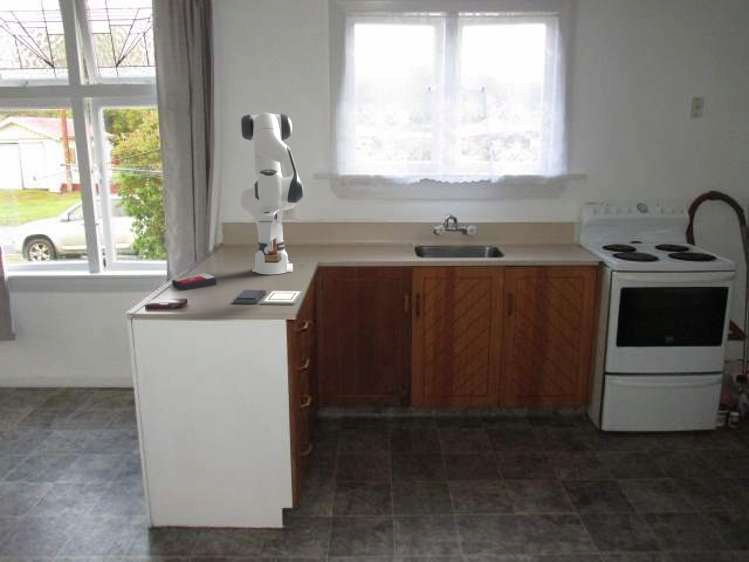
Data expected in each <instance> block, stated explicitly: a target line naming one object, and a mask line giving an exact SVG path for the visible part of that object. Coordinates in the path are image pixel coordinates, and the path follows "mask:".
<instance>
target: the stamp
mask: <svg viewBox="0 0 749 562" xmlns="http://www.w3.org/2000/svg"><path fill="white" fill-rule="evenodd" d="M273 246H274V250H273V251H268V252H269V253H267V254H266V255H265V256H264V257H265V263H278V262H279V261H281V253H277V241H276V238H275V239H273Z"/></svg>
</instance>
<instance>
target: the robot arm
mask: <svg viewBox="0 0 749 562" xmlns="http://www.w3.org/2000/svg"><path fill="white" fill-rule="evenodd" d="M292 122H293V121H292V120H291V118H290V116H289V115H287V114H284V113H283V114H282V113H280V114H278V113H277V114H276V113H271V112H266V111H265V112H260V113H258V114H245V115H243V116H242V117H241V120H240V121H239V126H238V127H239V132H240V135H241V136H242V138H243V139H245V140H248V141H253V147H254V148H253V149H254V153H253V154H254V155H253V156H254V170H255V171H254V173H255V174H256V175H257V177H258V178H257V180H256V182H255V183H254V184H253V185H254V187H252V188H247V189H244V190H243V191H242V192H241V194H240V198H239V200H240V201H239V203H240V205H241V207H242V209H243V210H244V211H245V212H246V213H248V214H249V215H251V217H252V218H253V219H254V221H255V224H256V226H257V236H258V241H257V249H258V251H257V252H256V253H255V255H254V258H255V259H254V260H255V261H254V262H255V263H254V264H255V265H254V266H255V267H254V268H252V270H251V271H252V273H253V272H254V273H257V274H260V275H280V274H285V273H292V272H293V269H294V268H293V267H294V266H293V265H294V264H293V263H292V262H291V263H290V260H289V258H288V257H289V256H288V253H287V251H286V249H285V248H286V247H285V240H284V233H283V223H282V219H283V218H284V212H283V211H286V210H291V209H293V208H294V207H296V205H297V203H298V202H299V201H301V199H302V198H303V197H304V185H303V183H302V181H301V178H300V176H299V172H298V168H297V165H296V162H295V159H294V155H293V153H292V150H291V148H290V146H289V145H287V144H285V142H284V141H285V140H288V138H289V137H291V134H292V131H293V124H292ZM281 164H282V165H283V166H284V168H285V172H286V175H287V176H286V177H285V176H284V177H283V174H282V169H281ZM275 238H276V241H277V253H281V261H279V262H278V263H265V257H264V256H265V255H266V254H267V253H269V252H268V251H273V250H274V246H273V239H275Z"/></svg>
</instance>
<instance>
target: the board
mask: <svg viewBox="0 0 749 562" xmlns="http://www.w3.org/2000/svg"><path fill="white" fill-rule="evenodd" d="M303 294H304V290H270V291H269V292H268V294H266V295H265V296H264V297H263V298H262V299H261V300H260V301H259V303H260V305H264V306H265V305H268V306H271V305H273V306H274V305H275V306H280V305H281V306H282V305H283V306H286V305H287V306H295V305H296V304H297V302H298V301H299V299H300V298H301V297H302V296H303Z"/></svg>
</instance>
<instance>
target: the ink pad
mask: <svg viewBox="0 0 749 562" xmlns="http://www.w3.org/2000/svg"><path fill="white" fill-rule="evenodd" d="M266 296H267V291H266V290H263V289H244V290H242V291H241V292H240V293H239V294H238V295H237V296H235V297H234V299H233V300H232V301H233V305H234V304H236V305H237V304H239V305H240V304H242V305H243V304H245V305H249V304H250V305H251V304H252V305H257V304H258V303H260V302H261V301H262V300H263V299H264V298H265V297H266Z"/></svg>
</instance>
